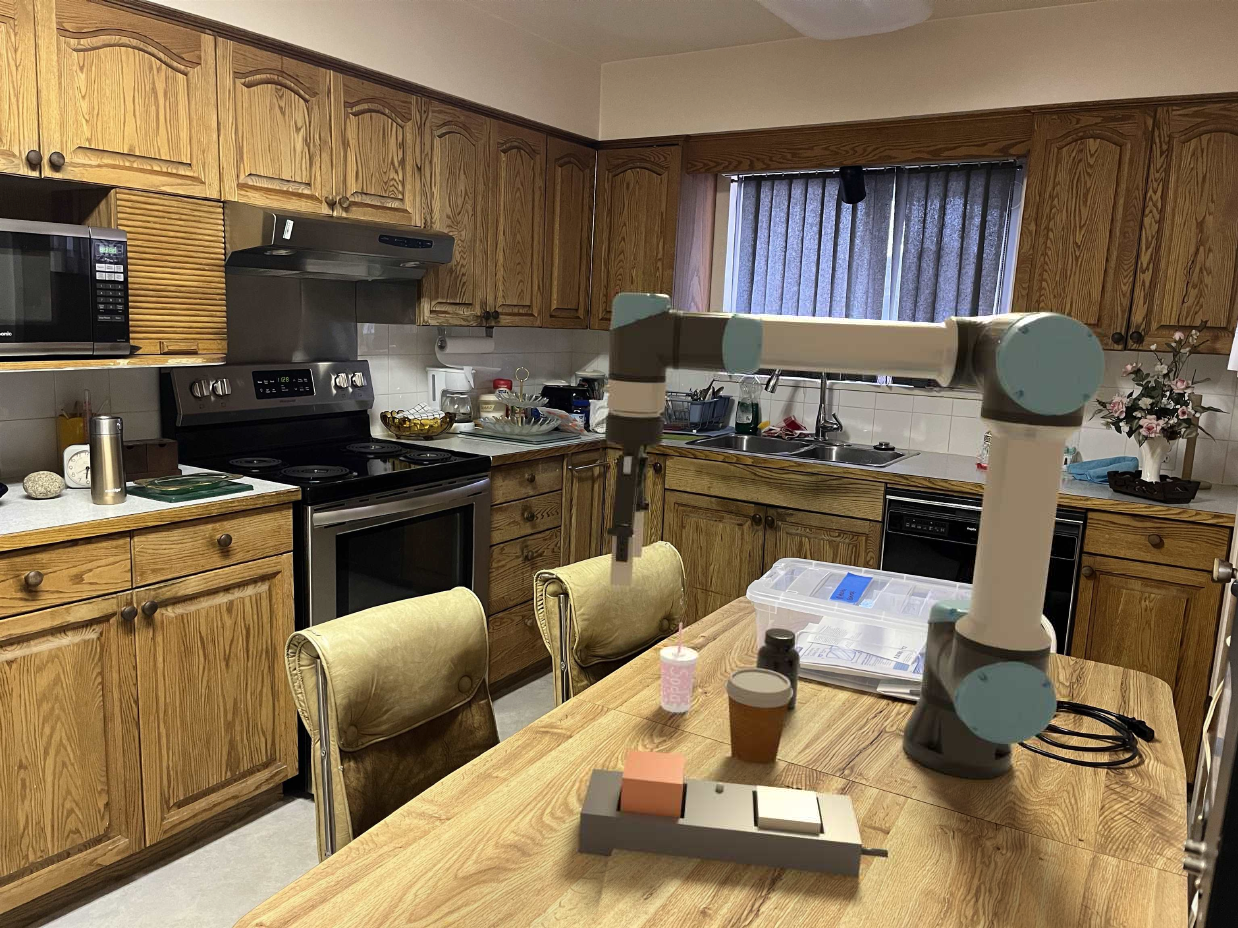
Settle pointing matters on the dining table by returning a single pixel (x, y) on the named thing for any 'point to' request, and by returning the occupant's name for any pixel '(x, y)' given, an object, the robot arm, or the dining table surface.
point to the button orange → (653, 783)
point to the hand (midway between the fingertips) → (626, 569)
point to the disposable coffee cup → (757, 713)
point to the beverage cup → (677, 676)
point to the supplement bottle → (780, 657)
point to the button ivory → (786, 809)
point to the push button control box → (721, 828)
